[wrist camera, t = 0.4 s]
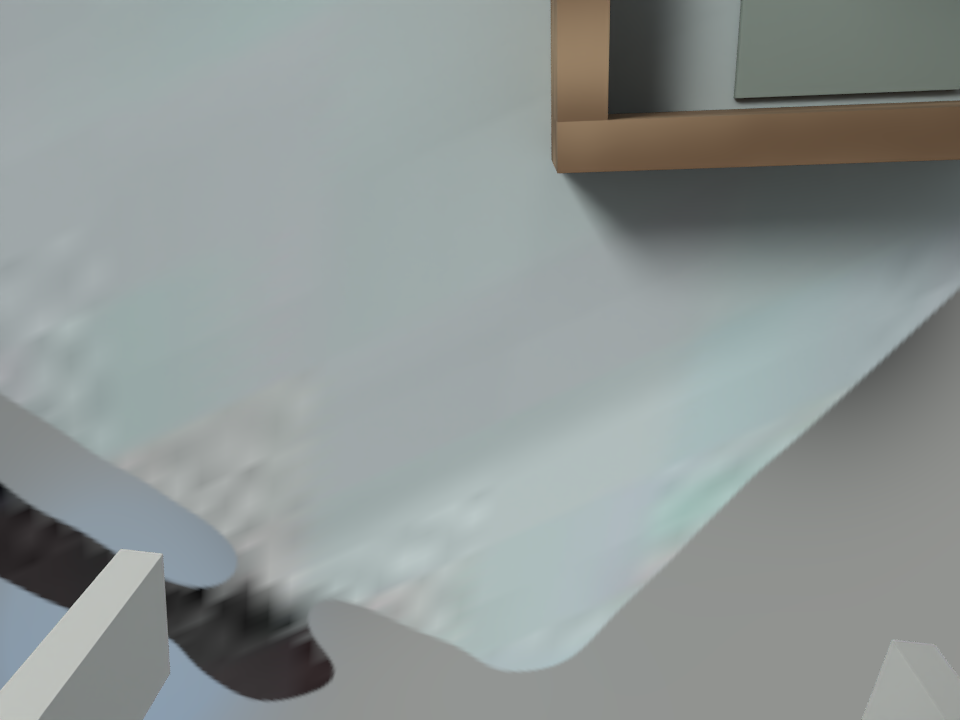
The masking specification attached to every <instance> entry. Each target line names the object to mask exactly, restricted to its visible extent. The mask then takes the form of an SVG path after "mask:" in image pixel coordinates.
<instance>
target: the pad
mask: <svg viewBox="0 0 960 720" xmlns="http://www.w3.org/2000/svg"><path fill="white" fill-rule="evenodd" d="M959 88H960V0H741V9H740V22H739V36H738V49H737V62H736V75H735V89H734V98H753V97H778V96H803V95H828V94H853V93H878V92H903V91H928V90H954V89H959Z"/></svg>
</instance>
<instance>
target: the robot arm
mask: <svg viewBox="0 0 960 720" xmlns="http://www.w3.org/2000/svg"><path fill="white" fill-rule="evenodd" d="M163 565H164V564H163V554H159V553H151V552H142V551H134V550H125V549H120V551H119V552H118V553H117V554H116V555H115V556H114V558H113V559H112V560H111V561H110V562H109V563H108V565H107V566H106V567H105V568H104V569H103V570H102V572H101V573H100V574H99V575H98V576H97V578H96V579H95V580H94V581H93V582H92V583H91V585H90V586H89V587H88V588H87V589H86V590H85V592H84V593H83V594H82V595H81V596H80V597H79V599H78V600H77V601H76V602H75V603H74V605H73V606H72V607H71V608H70V609H69V610H68V612H67V613H66V614H65V615H64V616H63V617H62V619H61V620H60V621H59V622H58V623H57V624H56V626H55V627H54V628H53V629H52V630H51V632H50V633H49V634H48V635H47V636H46V637H45V639H44V640H43V641H42V642H41V643H40V645H39V646H38V647H37V648H36V649H35V650H34V652H33V653H32V654H31V655H30V656H29V657H28V659H27V660H26V661H25V662H24V663H23V664H22V666H21V667H20V668H19V669H18V670H17V671H16V673H15V674H14V675H13V676H12V677H11V679H10V680H9V681H8V682H7V683H6V685H5V686H4V687H3V688H2V689H1V690H0V720H143V718H144V716H145V715H146V713H147V711H148V710H149V708H150V706H151V705H152V703H153V701H154V700H155V698H156V696H157V694H158V693H159V691H160V689H161V688H162V686H163V684H164V683H165V681H166V679H167V678H168V676H169V674H170V662H169V645H168V629H167V613H166V597H165V580H164V566H163ZM862 720H960V678H959V676H958V675H957V673H956V672H955V671H954V669H953V668H952V667H951V665H950V664H949V662H948V661H947V660H946V658H945V657H944V656H943V654H942V653H941V652H940V650H939V649H938V648H937V646H936V645H935V644H927V643H919V642H911V641H902V640H894V639H893V640H892V641H891V644H890V646H889V649H888V651H887V654H886V657H885V659H884V662H883V665H882V667H881V670H880V672H879V675H878V678H877V680H876V683H875V686H874V689H873V691H872V694H871V696H870V699H869V701H868V704H867V707H866V709H865V712H864V715H863V717H862Z"/></svg>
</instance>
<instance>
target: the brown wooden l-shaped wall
mask: <svg viewBox="0 0 960 720" xmlns="http://www.w3.org/2000/svg"><path fill="white" fill-rule="evenodd" d="M609 31H610V0H551V141H552V162H553V164H554V166H555V169H556V171H557V173H580V172H609V171H639V170H668V169H697V168H726V167H755V166H785V165H814V164H843V163H872V162H901V161H931V160H960V101H935V102H909V103H884V104H858V105H832V106H807V107H781V108H755V109H729V110H704V111H678V112H652V113H627V114H608V81H609Z"/></svg>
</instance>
